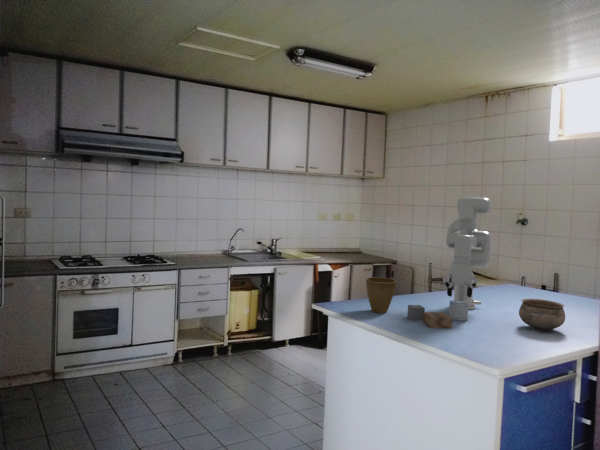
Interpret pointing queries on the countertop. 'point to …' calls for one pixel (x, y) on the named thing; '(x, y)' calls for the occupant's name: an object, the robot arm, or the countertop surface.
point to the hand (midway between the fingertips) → (459, 296)
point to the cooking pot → (542, 314)
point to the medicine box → (458, 310)
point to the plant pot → (380, 293)
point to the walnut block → (437, 320)
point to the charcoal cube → (415, 312)
